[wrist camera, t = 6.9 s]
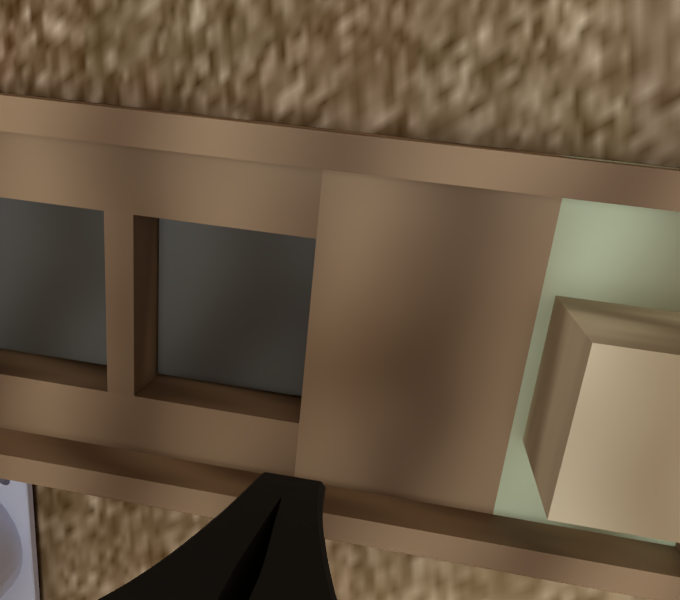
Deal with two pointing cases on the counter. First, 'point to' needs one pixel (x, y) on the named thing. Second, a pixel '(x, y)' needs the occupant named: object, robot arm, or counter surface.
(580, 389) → the birch block
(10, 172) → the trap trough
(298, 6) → the counter surface
